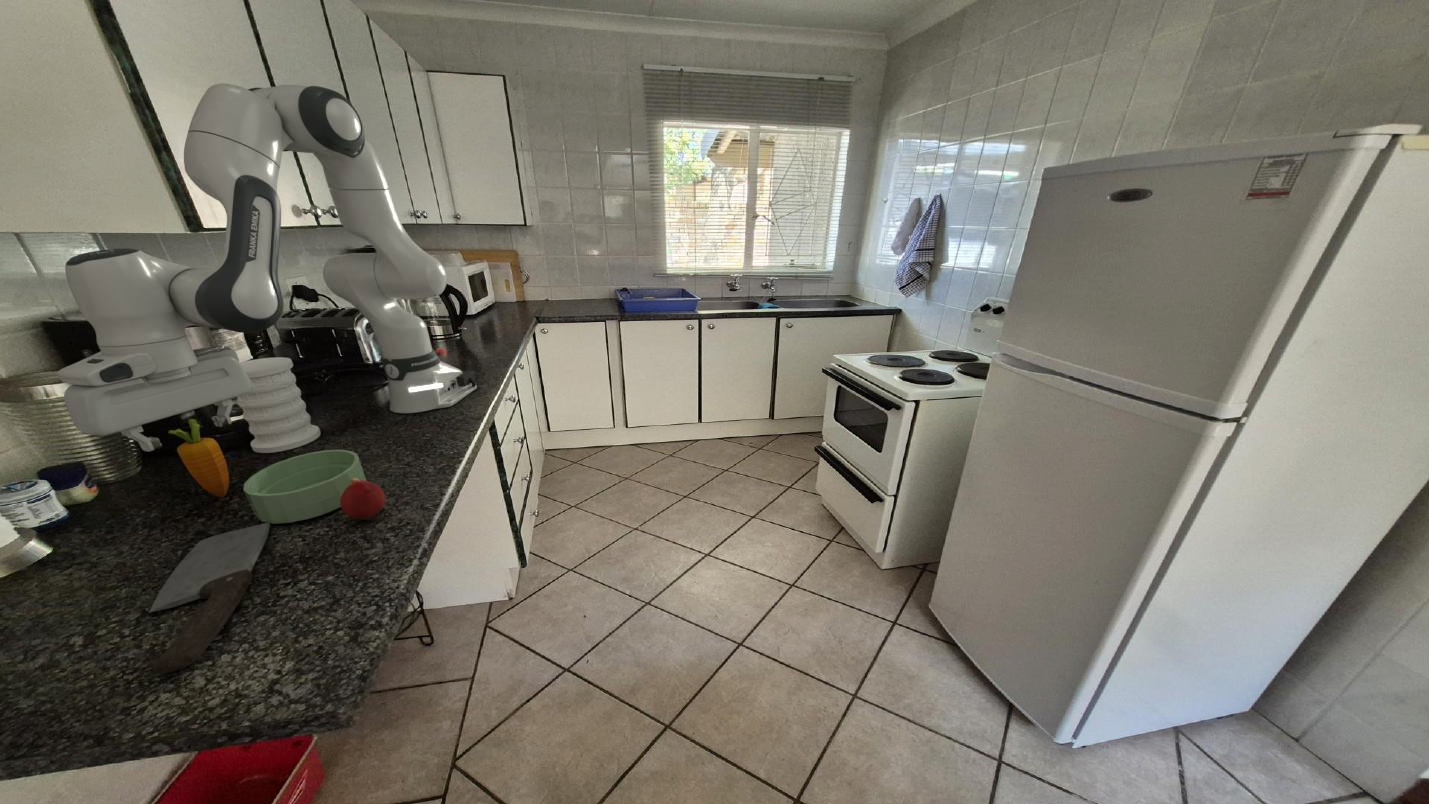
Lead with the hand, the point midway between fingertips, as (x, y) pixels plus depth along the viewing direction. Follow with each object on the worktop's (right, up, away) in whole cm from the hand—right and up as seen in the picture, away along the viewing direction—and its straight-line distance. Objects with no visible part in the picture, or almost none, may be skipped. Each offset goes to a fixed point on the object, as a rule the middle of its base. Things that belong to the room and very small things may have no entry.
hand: (190, 436), depth 75 cm
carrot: (0, -12, +5) cm, 13 cm away
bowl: (+17, -12, +5) cm, 21 cm away
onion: (+31, -14, 0) cm, 34 cm away
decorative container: (-8, -3, +25) cm, 27 cm away
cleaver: (+20, -20, -15) cm, 32 cm away
